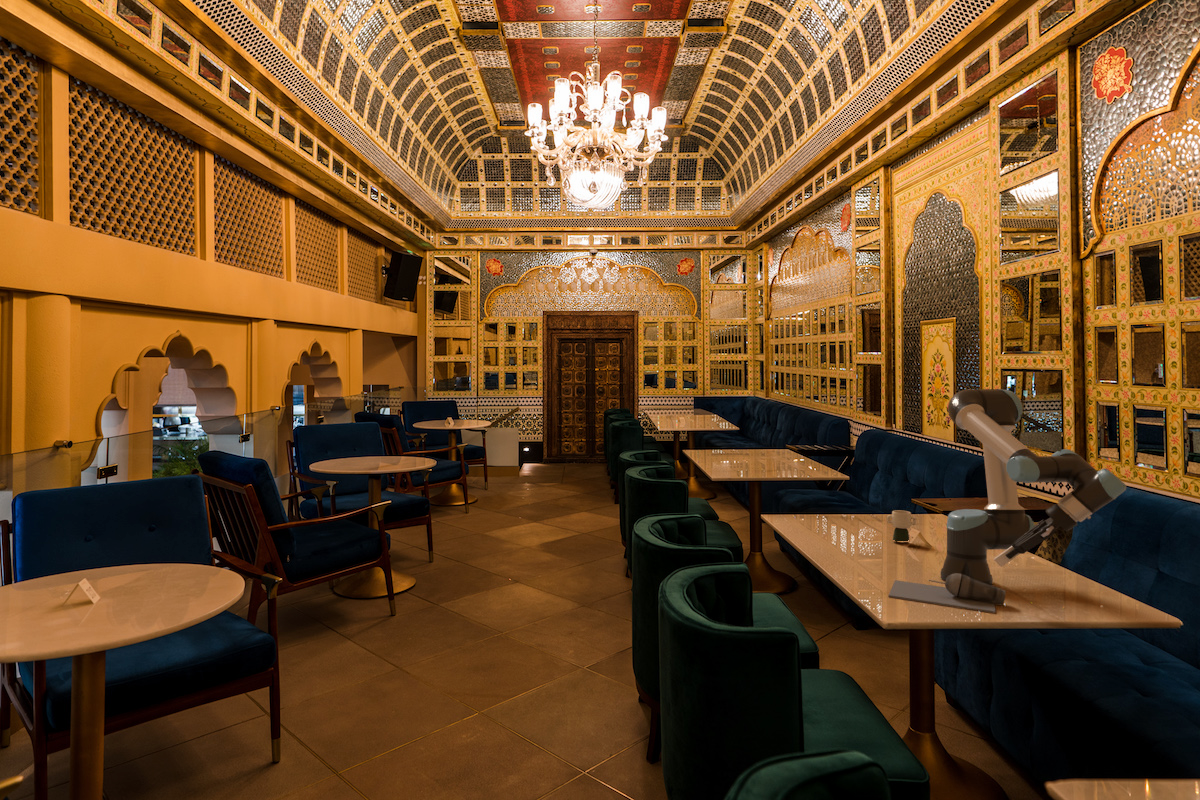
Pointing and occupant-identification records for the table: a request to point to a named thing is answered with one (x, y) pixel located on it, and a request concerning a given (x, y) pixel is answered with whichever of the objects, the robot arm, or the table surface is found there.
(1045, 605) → the table surface
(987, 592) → the beverage cup
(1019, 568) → the table surface
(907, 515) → the character mug
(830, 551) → the table surface
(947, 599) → the rubber mat
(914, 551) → the table surface
